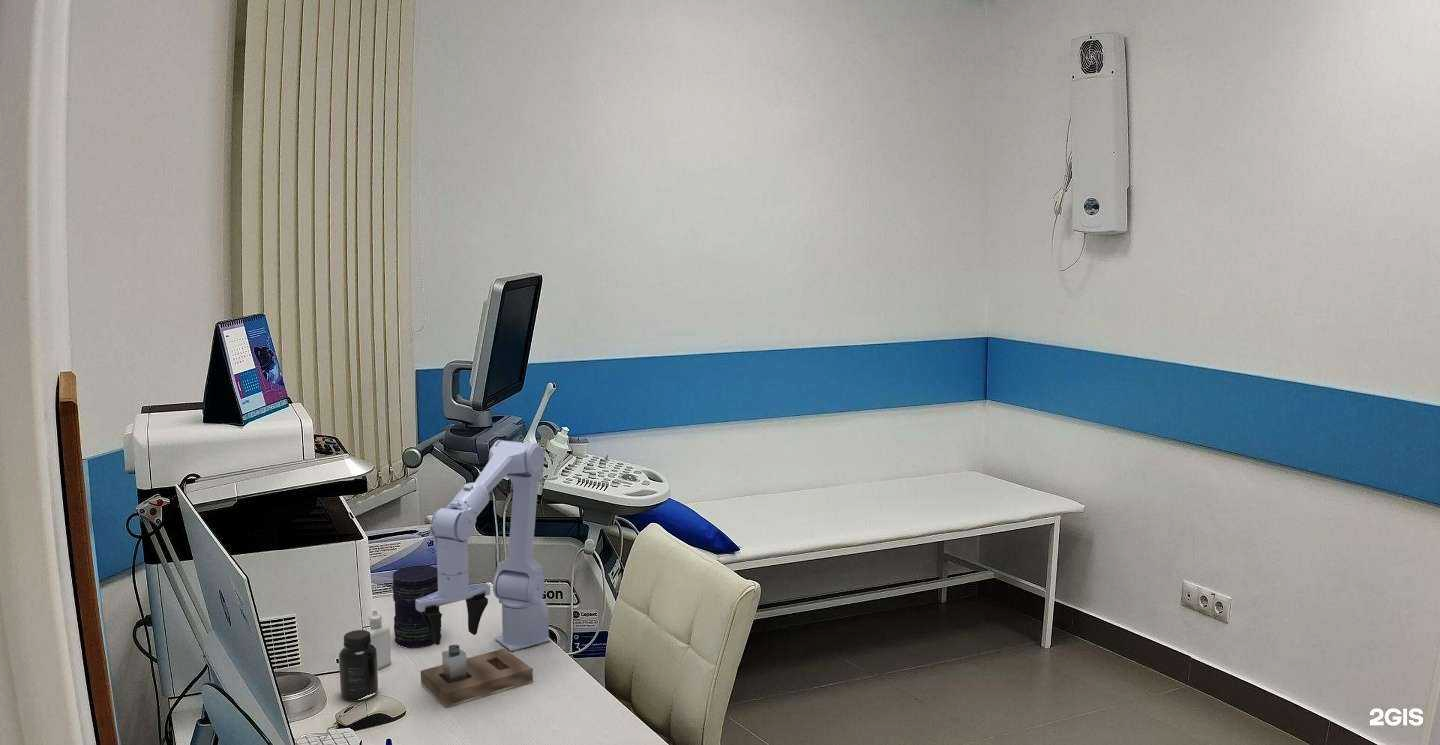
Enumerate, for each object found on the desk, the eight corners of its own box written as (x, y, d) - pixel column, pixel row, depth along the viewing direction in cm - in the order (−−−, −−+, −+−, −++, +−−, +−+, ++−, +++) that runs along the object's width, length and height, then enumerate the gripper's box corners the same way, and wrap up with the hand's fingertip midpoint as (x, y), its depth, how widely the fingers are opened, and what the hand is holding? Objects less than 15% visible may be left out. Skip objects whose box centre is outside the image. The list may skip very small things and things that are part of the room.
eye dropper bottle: (392, 668, 209) (390, 611, 207) (363, 673, 207) (361, 615, 205) (389, 659, 213) (387, 604, 211) (361, 664, 211) (359, 608, 209)
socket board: (504, 660, 213) (504, 648, 213) (532, 681, 204) (532, 668, 204) (421, 684, 202) (420, 670, 202) (446, 707, 193) (446, 693, 193)
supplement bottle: (385, 689, 200) (383, 630, 198) (362, 704, 194) (360, 644, 192) (356, 683, 202) (354, 625, 200) (332, 698, 196) (330, 638, 194)
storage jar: (429, 650, 218) (427, 582, 216) (385, 646, 219) (383, 579, 217) (449, 632, 227) (447, 567, 225) (407, 628, 229) (405, 563, 227)
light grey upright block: (459, 681, 203) (458, 641, 202) (467, 687, 200) (466, 647, 199) (442, 686, 201) (441, 646, 199) (450, 692, 198) (449, 652, 197)
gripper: (477, 557, 205) (479, 622, 207) (407, 572, 195) (409, 640, 197) (494, 566, 199) (496, 633, 201) (423, 583, 190) (425, 653, 192)
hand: (454, 637), depth 199 cm, fingers open, 7 cm apart
